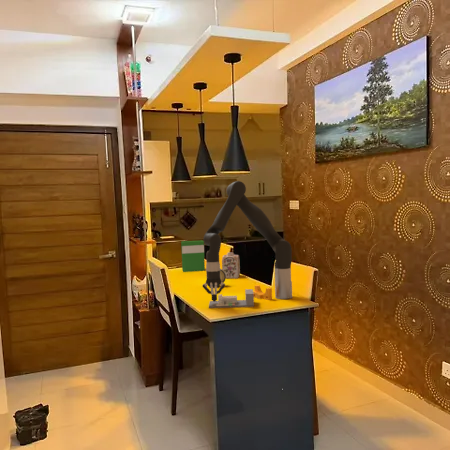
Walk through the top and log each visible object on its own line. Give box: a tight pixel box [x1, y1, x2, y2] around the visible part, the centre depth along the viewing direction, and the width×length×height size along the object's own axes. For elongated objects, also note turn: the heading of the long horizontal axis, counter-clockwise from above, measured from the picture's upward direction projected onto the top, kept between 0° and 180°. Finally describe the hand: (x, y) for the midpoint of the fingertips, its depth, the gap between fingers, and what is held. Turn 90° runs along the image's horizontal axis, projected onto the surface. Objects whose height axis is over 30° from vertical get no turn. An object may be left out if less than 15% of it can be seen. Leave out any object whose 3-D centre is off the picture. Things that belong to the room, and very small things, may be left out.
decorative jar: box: [221, 252, 241, 279], centre depth 307 cm, size 12×12×18 cm
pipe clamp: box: [253, 284, 273, 301], centre depth 240 cm, size 12×4×6 cm, turn 36°
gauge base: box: [208, 288, 255, 309], centre depth 227 cm, size 24×11×7 cm, turn 89°
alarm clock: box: [219, 268, 227, 286], centre depth 276 cm, size 11×5×16 cm, turn 88°
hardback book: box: [180, 239, 206, 273], centre depth 339 cm, size 18×7×24 cm, turn 100°
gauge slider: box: [217, 294, 238, 304], centre depth 226 cm, size 10×8×4 cm
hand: (214, 301), depth 228 cm, fingers closed
